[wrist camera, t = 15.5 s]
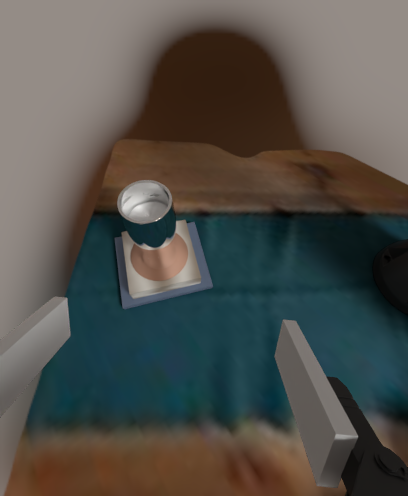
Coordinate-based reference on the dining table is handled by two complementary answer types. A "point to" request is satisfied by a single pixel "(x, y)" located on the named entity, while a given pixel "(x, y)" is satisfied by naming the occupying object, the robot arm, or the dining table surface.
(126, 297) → the grey flat slab
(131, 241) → the plinth
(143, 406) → the dining table surface
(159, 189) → the silver metal cup
